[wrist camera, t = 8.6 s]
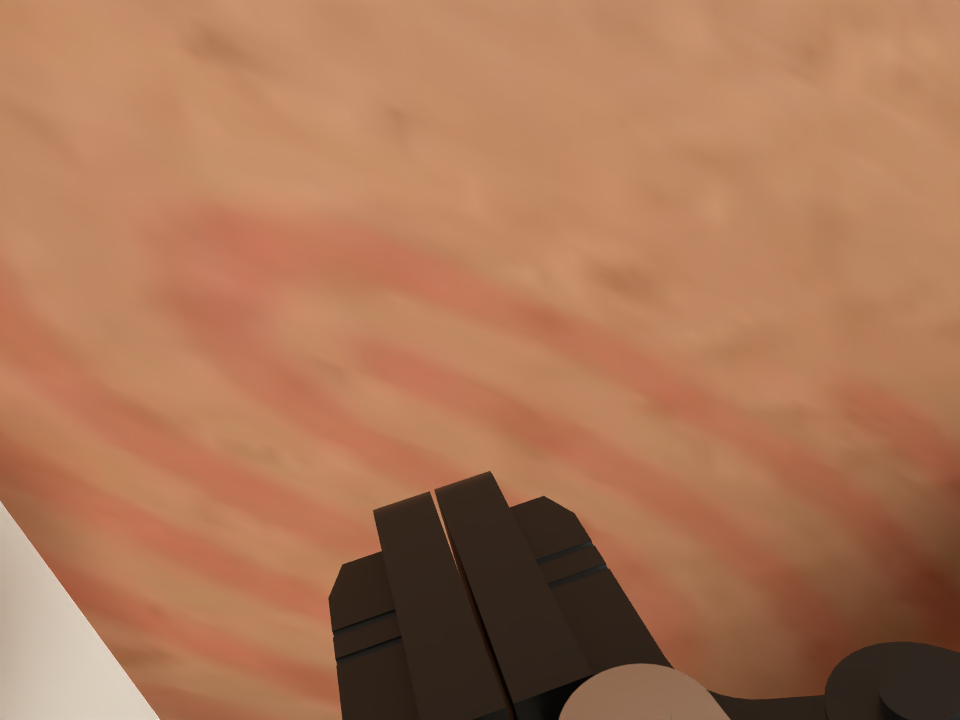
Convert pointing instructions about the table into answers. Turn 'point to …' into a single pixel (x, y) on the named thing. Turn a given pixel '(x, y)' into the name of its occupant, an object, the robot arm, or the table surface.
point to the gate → (53, 646)
